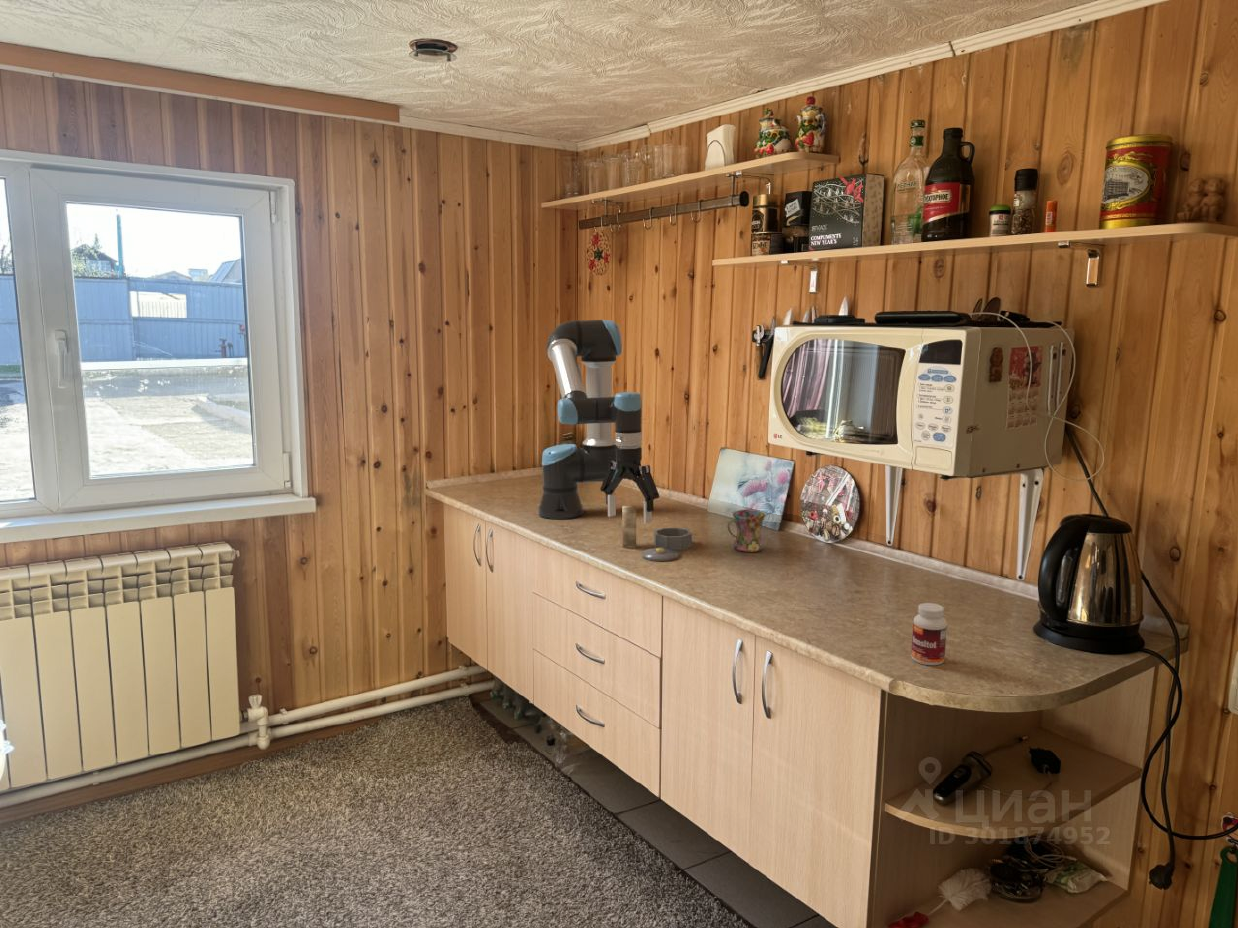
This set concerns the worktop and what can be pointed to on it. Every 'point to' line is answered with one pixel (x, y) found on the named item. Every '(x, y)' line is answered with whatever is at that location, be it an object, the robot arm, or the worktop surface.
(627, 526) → the dowel
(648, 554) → the jar lid
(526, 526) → the worktop surface
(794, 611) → the worktop surface
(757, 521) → the mug
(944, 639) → the pill bottle
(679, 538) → the candle jar
